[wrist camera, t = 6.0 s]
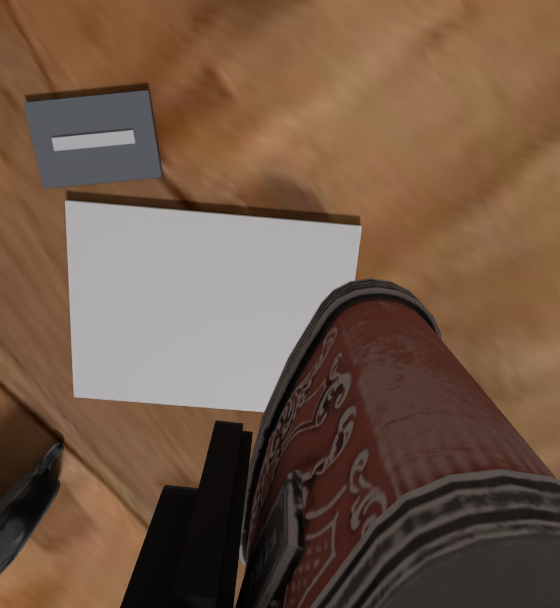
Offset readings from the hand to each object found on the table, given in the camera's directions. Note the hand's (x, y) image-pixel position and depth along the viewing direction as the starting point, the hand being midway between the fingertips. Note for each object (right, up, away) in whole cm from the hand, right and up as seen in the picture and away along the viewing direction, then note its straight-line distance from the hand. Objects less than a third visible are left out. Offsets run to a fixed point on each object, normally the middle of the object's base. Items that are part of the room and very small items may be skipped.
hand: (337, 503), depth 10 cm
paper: (-5, +3, +17) cm, 18 cm away
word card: (-10, +12, +14) cm, 21 cm away
